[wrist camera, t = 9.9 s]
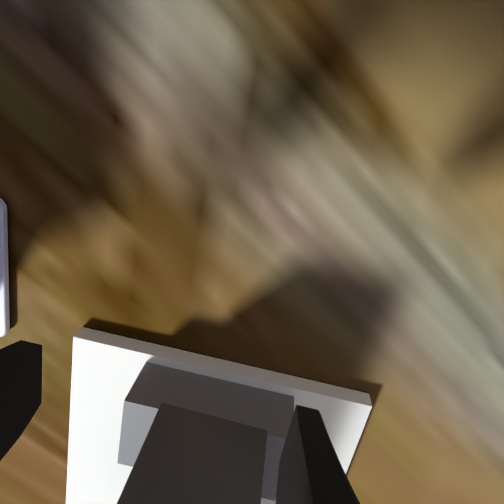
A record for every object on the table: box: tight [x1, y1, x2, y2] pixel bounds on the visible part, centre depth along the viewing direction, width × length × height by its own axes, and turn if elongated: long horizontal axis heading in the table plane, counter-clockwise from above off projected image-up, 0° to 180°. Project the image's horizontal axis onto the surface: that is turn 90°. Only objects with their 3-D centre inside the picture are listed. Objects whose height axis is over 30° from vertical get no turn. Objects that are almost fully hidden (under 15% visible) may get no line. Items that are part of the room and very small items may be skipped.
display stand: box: [66, 327, 372, 504], centre depth 24 cm, size 16×15×4 cm
